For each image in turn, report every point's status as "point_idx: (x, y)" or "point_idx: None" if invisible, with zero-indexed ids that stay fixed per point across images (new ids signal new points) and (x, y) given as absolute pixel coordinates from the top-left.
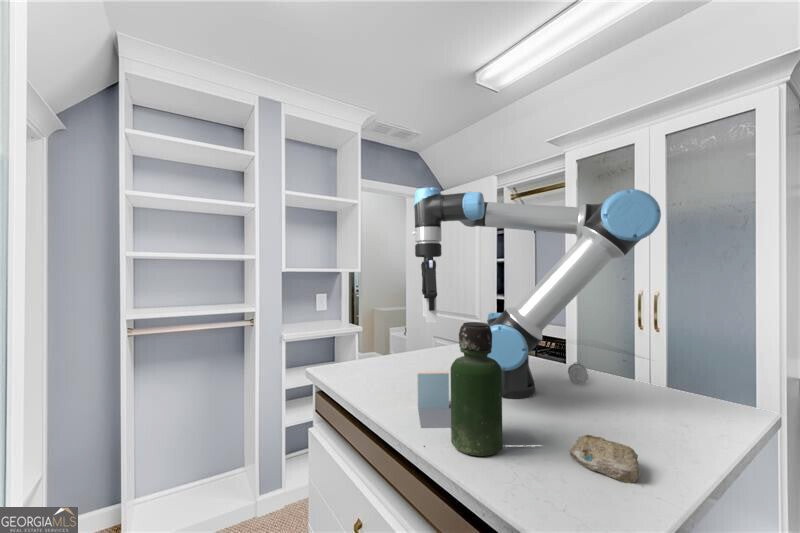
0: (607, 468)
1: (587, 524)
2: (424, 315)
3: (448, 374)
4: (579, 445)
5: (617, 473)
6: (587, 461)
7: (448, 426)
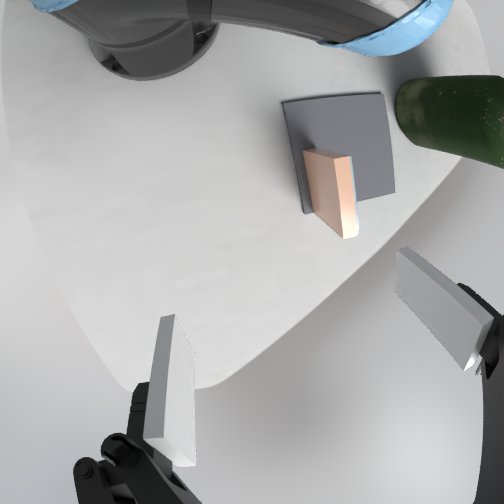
0: None
1: (487, 64)
2: (191, 352)
3: (349, 156)
4: None
5: None
6: None
7: (388, 149)
